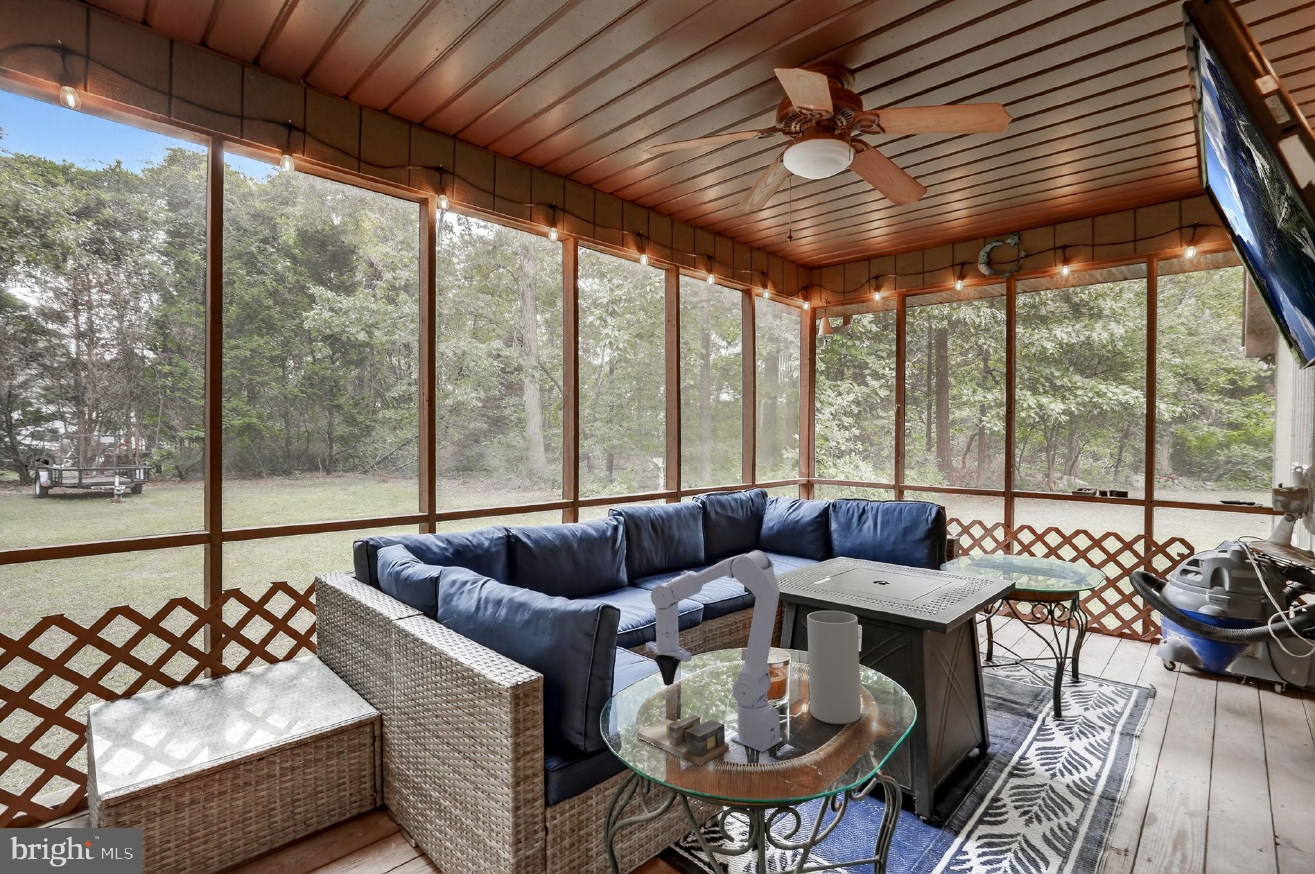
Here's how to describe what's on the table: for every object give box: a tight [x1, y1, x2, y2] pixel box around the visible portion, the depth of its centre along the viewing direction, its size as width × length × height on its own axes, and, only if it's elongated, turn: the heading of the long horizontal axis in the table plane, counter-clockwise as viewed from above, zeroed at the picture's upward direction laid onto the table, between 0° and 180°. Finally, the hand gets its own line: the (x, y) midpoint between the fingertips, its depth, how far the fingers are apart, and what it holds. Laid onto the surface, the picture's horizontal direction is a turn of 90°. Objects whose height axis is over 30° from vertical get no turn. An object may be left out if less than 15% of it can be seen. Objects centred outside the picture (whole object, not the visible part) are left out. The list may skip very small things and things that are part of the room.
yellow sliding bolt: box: [666, 718, 716, 751], centre depth 148 cm, size 12×4×2 cm, turn 44°
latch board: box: [637, 714, 730, 767], centre depth 151 cm, size 20×10×6 cm, turn 44°
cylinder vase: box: [806, 610, 862, 725], centre depth 164 cm, size 12×12×25 cm
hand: (668, 684), depth 163 cm, fingers closed
